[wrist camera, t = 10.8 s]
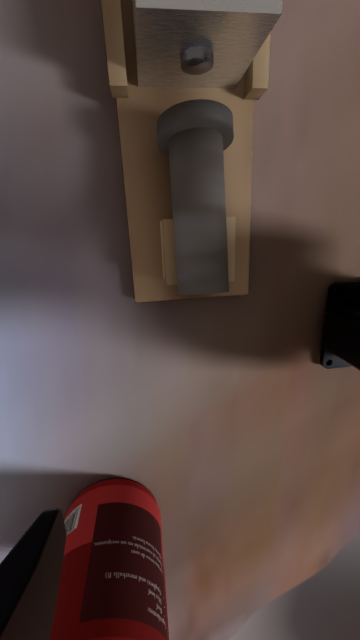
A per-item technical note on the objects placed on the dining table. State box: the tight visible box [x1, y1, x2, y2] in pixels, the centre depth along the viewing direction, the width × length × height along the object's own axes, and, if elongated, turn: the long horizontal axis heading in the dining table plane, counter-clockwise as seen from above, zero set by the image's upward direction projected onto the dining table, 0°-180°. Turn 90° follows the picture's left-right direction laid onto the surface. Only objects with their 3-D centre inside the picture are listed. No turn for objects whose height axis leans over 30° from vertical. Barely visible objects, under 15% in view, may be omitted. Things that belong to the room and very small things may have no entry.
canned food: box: [49, 479, 169, 640], centre depth 18 cm, size 8×8×11 cm
